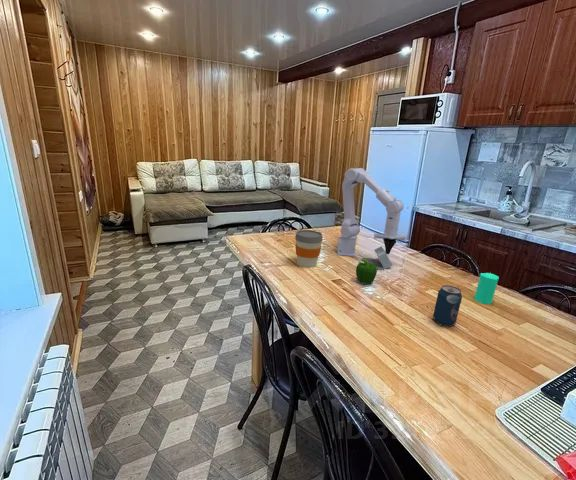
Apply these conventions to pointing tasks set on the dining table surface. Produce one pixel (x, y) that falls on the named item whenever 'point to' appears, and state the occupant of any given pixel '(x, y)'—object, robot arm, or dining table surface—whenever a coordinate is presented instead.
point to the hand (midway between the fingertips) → (387, 253)
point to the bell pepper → (366, 272)
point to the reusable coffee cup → (308, 247)
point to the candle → (486, 288)
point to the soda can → (447, 305)
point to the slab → (383, 257)
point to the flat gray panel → (376, 262)
